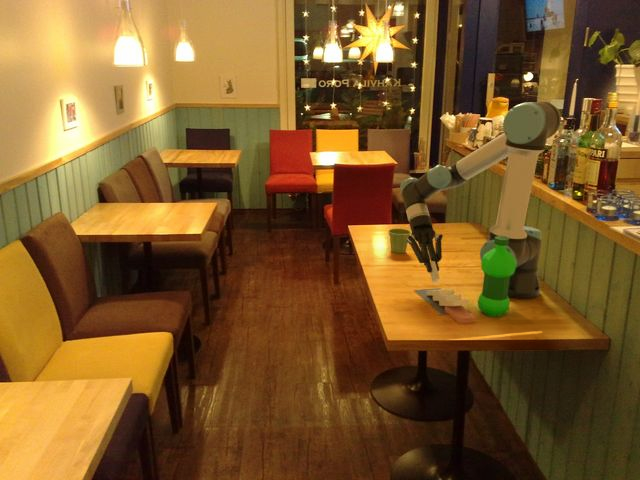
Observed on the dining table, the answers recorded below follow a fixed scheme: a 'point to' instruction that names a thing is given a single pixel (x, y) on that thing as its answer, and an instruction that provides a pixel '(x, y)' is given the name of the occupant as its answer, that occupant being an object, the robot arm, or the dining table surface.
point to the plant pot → (398, 239)
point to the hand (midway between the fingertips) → (436, 280)
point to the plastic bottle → (496, 278)
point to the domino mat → (430, 301)
